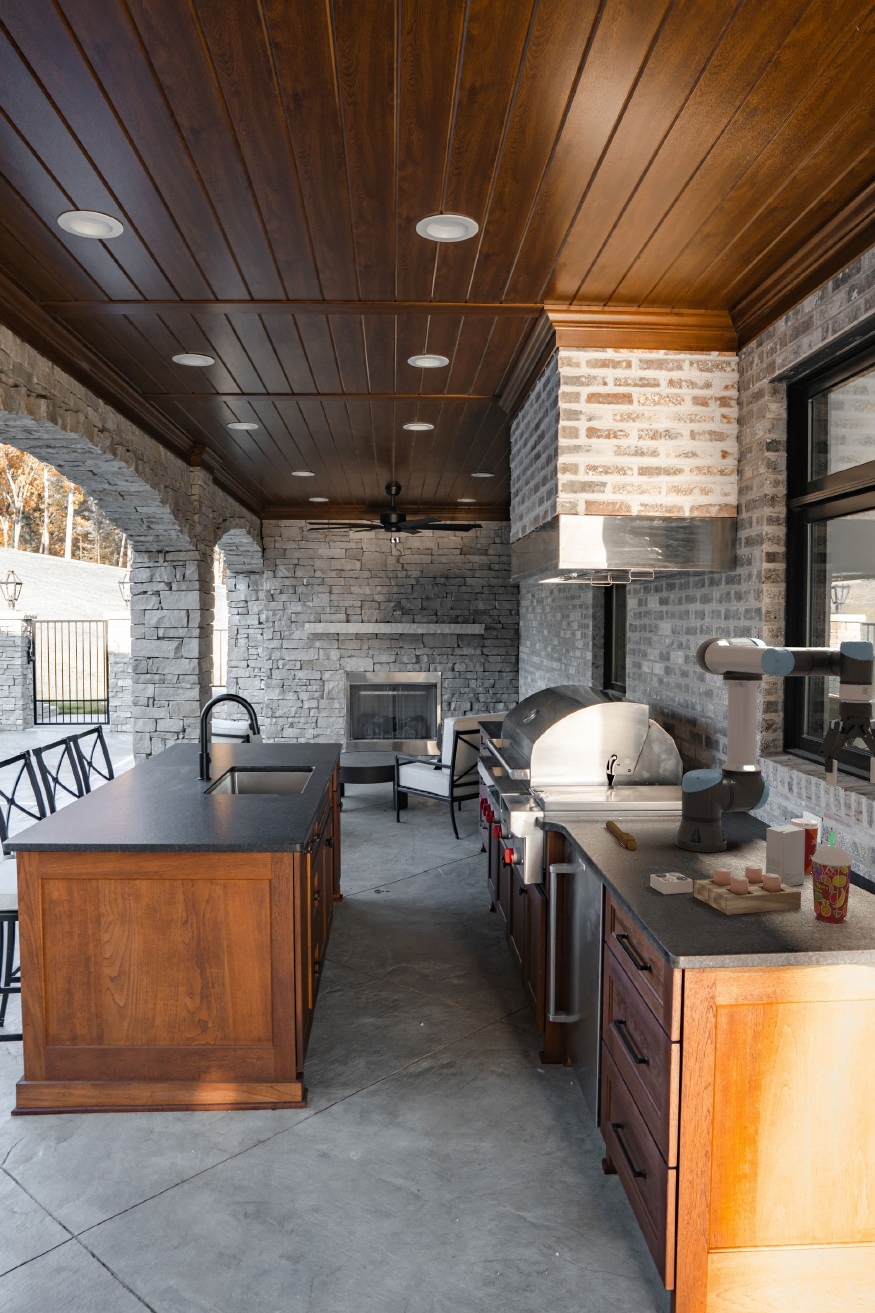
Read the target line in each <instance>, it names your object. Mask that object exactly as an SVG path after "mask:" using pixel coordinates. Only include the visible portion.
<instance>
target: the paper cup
mask: <svg viewBox="0 0 875 1313" xmlns="http://www.w3.org/2000/svg"><path fill="white" fill-rule="evenodd" d="M788 825H792V826H795V827H799V828H802V829H805V853H804V873H811V872H812V859H811V858H812V856H814V854H815V852H816V850H817V845H818V835H819V834H818V833H819V828H820V825H819V822H818V821H817V820H815V819H812V818H811V819H809V818H802V817H801V818H791V819H790V822H789V824H788ZM811 874H812V873H811Z"/></svg>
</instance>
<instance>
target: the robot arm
mask: <svg viewBox="0 0 875 1313" xmlns="http://www.w3.org/2000/svg"><path fill="white" fill-rule="evenodd" d="M874 658H875V656H874V644H873V642H871V641H869V640H842V641H841V642H840V646H839V648H838V647H822V646H819V647H786V646H784V647H782V646H781V647H780V646H767V644H766V643H765V642H764V641H763V640H761V639H760V638H759V639H758V638H755V637H754V638H753V637H713V638H708V639H706V640H705V641H703V642H702V643H700V645H699V646H698V648H697V650H696V653H695V660H696V664H697V666H698V667H699V668H700V669H701V670H702V671H703V672H705V673H707V674H710V675H714V676H722V681H723V682H724V684H726V685H727V742H726V744H727V745H726V746H727V747H726V748H727V751H726V753H727V754H726V762H725V763H724V764H723V765H722V767H721V770H719V769H715V768H714V769H713V768H708V769H705V768H702V769H694V770H690V771H688V772H687V771H686V773H685V774H683V777H682V781H681V821H680V824H679V825H678V829H677V832H676V834H675V842H674V843H675V846H677V847H678V848H680V849H682V850H688V851H693V852H698V853H699V852H700V853H717V852H718V853H719V852H723V851H725V850H727V847H728V846H727V838H726V835H725V831H724V829H723V825H722V813H723V812H724V813H725V812H727V813H728V812H751V811H757V810H760V809H762V808H763V806H765V805H766V804H767V802H768V800H769V797H770V792H771V790H770V789H771V788H770V784H769V782H768V780H769V779H768V778H767V777H766V775H765V774H763V773H762V768H761V767H760V765H759V764H757V741H758V740H757V739H758V738H757V736H758V735H757V734H758V733H757V731H758V730H757V728H758V727H757V725H758V724H757V723H758V722H757V721H758V686H759V685H760V684H762V683H763V679H764V678H763V676H765V675H767V676H771V677H781V678H782V677H839V682H838V683H839V688H838V689H839V691H838V698H839V700H840V702H838V715H839V716H840V721H838V720H831V719H830V720H829V722H828V723H829V724H828V729H827V731H826V734H825V736H824V739H823V741H822V743H821V746H820V748H819V750H818V752H817V756H818V757H820V758H821V759H822V760H823V759H824V772H825V773H826V774H825V775H826V776H825V778H826V783H825V784H826V786H830V787H837V785H838V784H837V783H838V782H837V781H838V780H837V779H838V778H837V777H838V760H835V759H836V758H837V756H838V755H839V753H840V752H841V750H842V749H843V747H844V746H845V745H846V744H847V742H848V741H850V740H851V739H861V740H862V741H863V742H864V744H865V745H866V747H867V749H868V751H870V753H871V754H872V756H873V757H870V776H869V777H870V778H869V779H870V780H869V781H870V782H869V783H871V784H875V719H872V716H873V703H872V702H870V701H872V700H873V685H874V684H873V680H874V675H873V674H874Z"/></svg>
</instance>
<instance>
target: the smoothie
mask: <svg viewBox="0 0 875 1313" xmlns="http://www.w3.org/2000/svg"><path fill="white" fill-rule="evenodd" d="M834 835H835V834H834V832H830V838H829V839H830V843H827V844H823V845H821V846H819V847H818V848H816V852H815V854H814V856H812V858H811V859H812V873H811V875H812V876H811V877H812V894H813V896H812V897H813V912H814V913H815V915H816V918H817V919H818V920H820V921H822V922H826V923H831V924H839V923H840V924H841V923H843V922H844V921H845V918H847V916H848V908H849V907H848V904H849V896H850V895H849V894H850V884H851V873H852V863H853V862H852V861H851V858H850V856H849V855H848V853H847V852H846V851H845V849H844V848H842V847H841V846H839V845H838V844H837V845H836V844H834Z"/></svg>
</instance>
